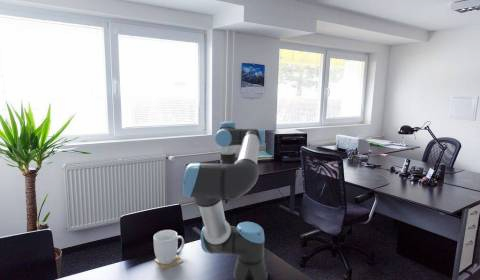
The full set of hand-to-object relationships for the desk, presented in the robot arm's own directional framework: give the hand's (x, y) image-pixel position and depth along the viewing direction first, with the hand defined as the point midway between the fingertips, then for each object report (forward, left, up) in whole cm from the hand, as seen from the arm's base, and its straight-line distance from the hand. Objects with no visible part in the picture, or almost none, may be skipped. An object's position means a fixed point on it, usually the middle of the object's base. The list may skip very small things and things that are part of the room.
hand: (228, 193), depth 152 cm
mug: (+7, +31, -28) cm, 42 cm away
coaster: (+7, +31, -29) cm, 43 cm away
